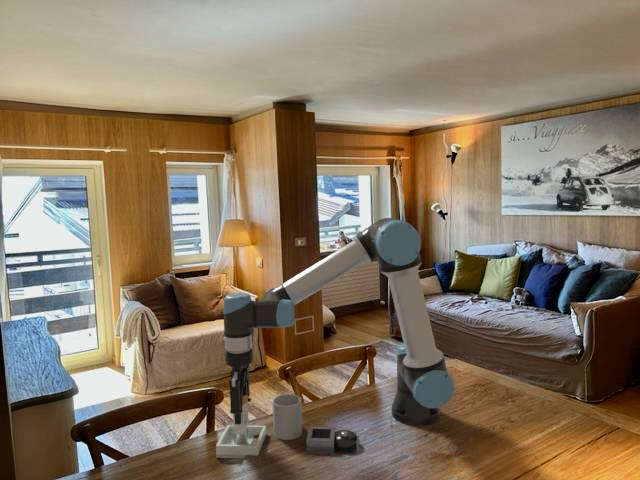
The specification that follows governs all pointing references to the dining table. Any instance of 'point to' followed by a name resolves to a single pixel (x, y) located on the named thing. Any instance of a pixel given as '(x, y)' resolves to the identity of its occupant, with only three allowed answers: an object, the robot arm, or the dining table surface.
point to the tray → (229, 450)
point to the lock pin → (240, 438)
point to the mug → (287, 417)
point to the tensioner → (331, 441)
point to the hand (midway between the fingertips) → (241, 429)
